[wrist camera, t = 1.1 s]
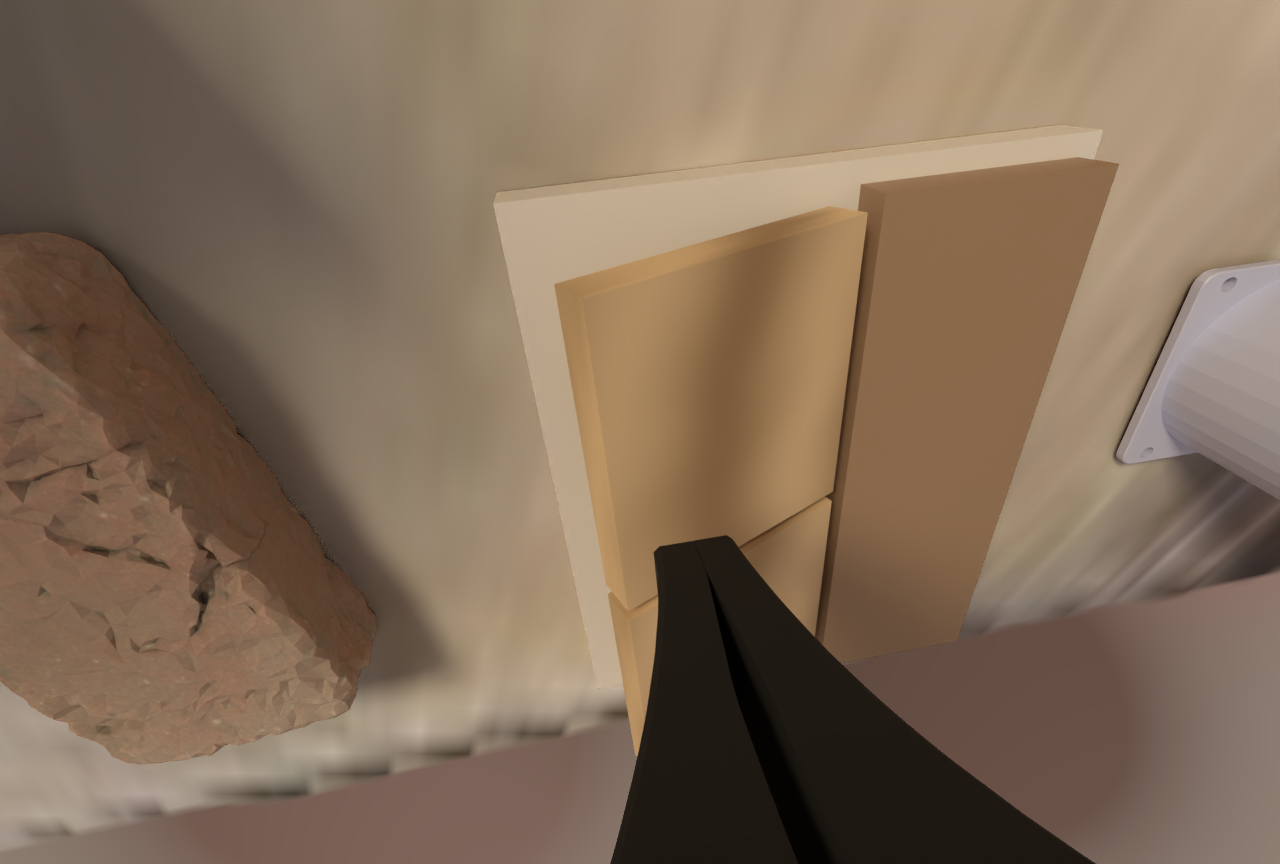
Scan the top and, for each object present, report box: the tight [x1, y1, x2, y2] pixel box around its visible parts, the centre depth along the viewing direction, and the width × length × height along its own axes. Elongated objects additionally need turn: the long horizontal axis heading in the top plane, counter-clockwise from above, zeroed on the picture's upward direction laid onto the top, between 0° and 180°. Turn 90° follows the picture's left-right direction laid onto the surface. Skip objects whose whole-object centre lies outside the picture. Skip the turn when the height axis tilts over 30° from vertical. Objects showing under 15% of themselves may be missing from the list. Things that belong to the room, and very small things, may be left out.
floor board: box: [493, 125, 1119, 689], centre depth 20 cm, size 16×20×3 cm
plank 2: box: [608, 496, 832, 756], centre depth 20 cm, size 8×9×1 cm
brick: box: [0, 232, 378, 764], centre depth 17 cm, size 17×8×5 cm, turn 12°
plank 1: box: [554, 206, 868, 611], centre depth 15 cm, size 8×9×1 cm
